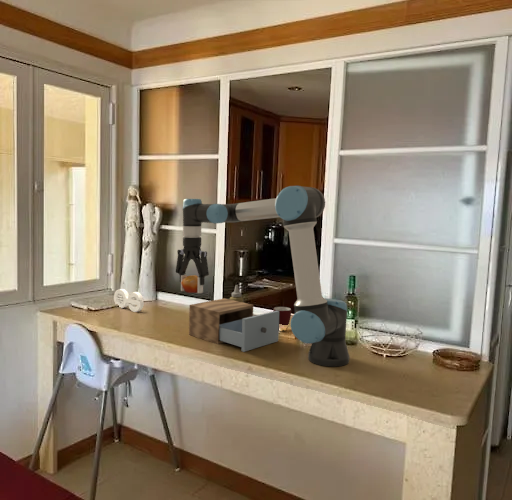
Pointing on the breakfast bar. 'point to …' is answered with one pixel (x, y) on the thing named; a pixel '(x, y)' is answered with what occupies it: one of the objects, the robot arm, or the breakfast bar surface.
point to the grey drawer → (251, 331)
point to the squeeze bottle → (236, 295)
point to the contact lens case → (129, 300)
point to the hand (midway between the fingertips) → (191, 291)
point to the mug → (283, 315)
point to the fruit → (190, 284)
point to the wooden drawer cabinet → (215, 317)
